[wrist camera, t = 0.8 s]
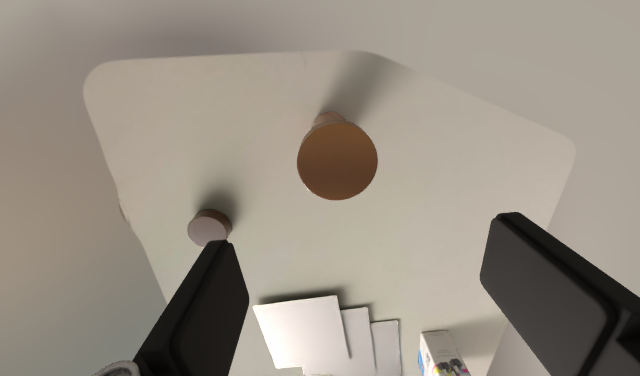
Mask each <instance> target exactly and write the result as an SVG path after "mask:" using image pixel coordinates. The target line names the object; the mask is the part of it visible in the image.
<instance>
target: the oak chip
mask: <svg viewBox="0 0 640 376" xmlns="http://www.w3.org/2000/svg"><path fill="white" fill-rule="evenodd" d="M377 164H378V158H377V152H376V148H375V146H374V144H373V142H372V140H371V139H370V138H369V136H368V135H367V134H366V133H365V132H364V131H363V130H362V129H361V128H360V127H359V126H357V125H355V124H354V123H351V122H349V121H345V120H329V121H325V122H322V123H320V124H318V125H316V126H315V127H313V128H312V129H311V130H310V131H309V132H308V133H307V134H306V136H305V137H304V139H303V141H302V143H301V146H300V149H299V153H298V158H297V169H298V173H299V176H300V178H301V180H302V182H303V184H304V185H305V186H306V187H307V188H308V189H309V190H310V191H311V192H312V193H314V194H315V195H317V196H319V197H321V198H324V199H328V200H344V199H348V198H351V197H354V196H356V195H358V194H359V193H361V192H362V191H363V190H364V189H365V188H367V186H368V185H369V184H370V183H371V181H372V180H373V178H374V176H375V173H376V170H377Z"/></svg>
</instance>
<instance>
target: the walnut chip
mask: <svg viewBox="0 0 640 376" xmlns="http://www.w3.org/2000/svg"><path fill="white" fill-rule="evenodd" d="M230 232H231V223H230V220H229V219H228V217H227V216H226V215H225V214H223V213H222V212H220V211H218V210H214V209H206V210H202V211H200V212H199V213H198V214H197V215H196V216H195V217H194V218H193V219H192V221H191V222H190V223H189V225H188V234H189V237H190V238H191V240H192V241H193V242H194V243H195V244H197V245H199V246H201V247H203V248H205V246H206V244H207V243H208V242H209V241H213V240H223V239H225V240H226V239H227V238H228V236H229V234H230Z"/></svg>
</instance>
